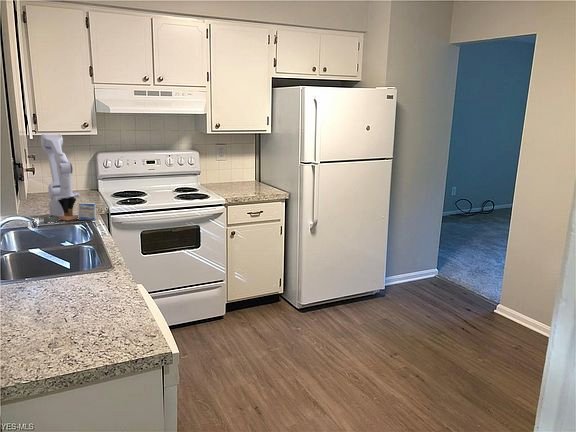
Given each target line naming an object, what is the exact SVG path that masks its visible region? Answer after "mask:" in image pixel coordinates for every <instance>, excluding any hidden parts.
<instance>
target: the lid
mask: <svg viewBox="0 0 576 432" xmlns="http://www.w3.org/2000/svg"><path fill="white" fill-rule="evenodd" d="M60 219H62V220H72V219H79V214H74V213H73V210H72V209H68V213H64V215H62V216H59V220H60Z"/></svg>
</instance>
